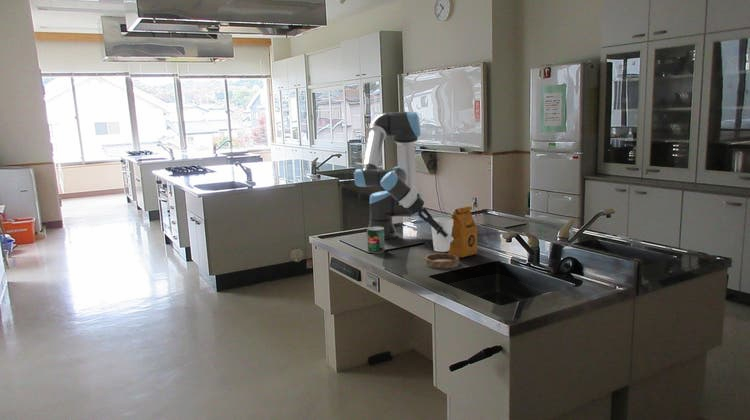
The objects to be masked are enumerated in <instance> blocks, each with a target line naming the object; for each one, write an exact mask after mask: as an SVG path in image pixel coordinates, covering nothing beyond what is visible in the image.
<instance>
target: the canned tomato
mask: <svg viewBox="0 0 750 420" xmlns="http://www.w3.org/2000/svg"><path fill="white" fill-rule="evenodd" d="M367 233H368V237H367V252H368V253H371V254H381V253H384V252H385V239H384V227H380V226H373V227H369V226H368V227H367V231H366V234H367Z"/></svg>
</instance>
